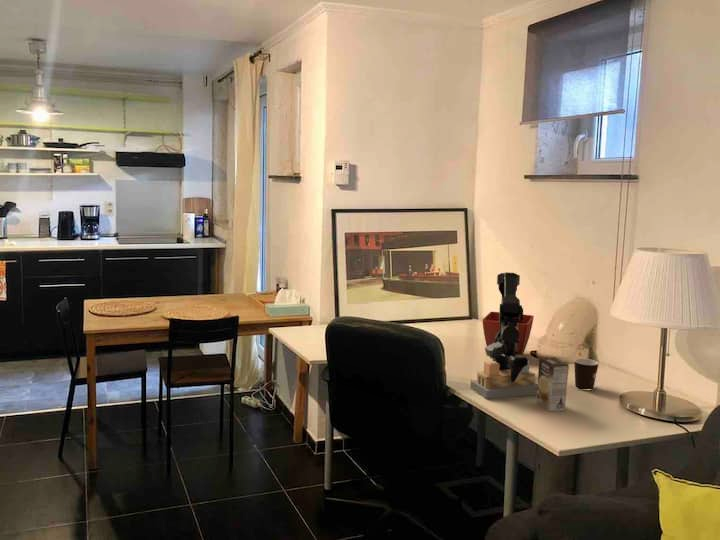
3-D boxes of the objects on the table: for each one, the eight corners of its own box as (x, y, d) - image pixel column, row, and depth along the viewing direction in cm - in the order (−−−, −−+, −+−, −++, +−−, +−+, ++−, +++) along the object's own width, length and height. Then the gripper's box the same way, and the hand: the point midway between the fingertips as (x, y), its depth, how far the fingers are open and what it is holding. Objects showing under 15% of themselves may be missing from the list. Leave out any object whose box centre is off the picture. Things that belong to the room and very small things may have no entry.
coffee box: (535, 402, 237) (538, 357, 235) (551, 401, 239) (554, 356, 236) (549, 411, 228) (552, 365, 226) (566, 410, 230) (569, 364, 228)
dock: (522, 384, 257) (523, 376, 257) (540, 394, 246) (541, 386, 246) (470, 388, 250) (470, 380, 250) (486, 399, 239) (486, 390, 239)
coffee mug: (584, 392, 249) (586, 366, 248) (567, 385, 257) (569, 359, 255) (607, 388, 255) (609, 362, 253) (589, 382, 262) (592, 356, 261)
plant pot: (479, 357, 292) (481, 319, 290) (488, 347, 310) (490, 310, 307) (524, 363, 285) (527, 324, 283) (531, 352, 303) (534, 315, 300)
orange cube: (493, 371, 248) (494, 361, 247) (498, 375, 244) (499, 364, 243) (483, 372, 247) (484, 361, 246) (489, 375, 243) (489, 364, 242)
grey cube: (523, 369, 252) (523, 359, 251) (528, 372, 248) (529, 362, 247) (513, 370, 250) (514, 359, 250) (519, 373, 247) (519, 362, 246)
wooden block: (525, 378, 254) (525, 368, 253) (534, 384, 248) (535, 373, 247) (476, 382, 248) (477, 371, 247) (485, 388, 242) (486, 377, 241)
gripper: (476, 330, 251) (474, 372, 254) (502, 343, 234) (499, 387, 236) (503, 329, 255) (500, 370, 257) (530, 342, 237) (527, 385, 240)
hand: (506, 378), depth 247 cm, fingers open, 9 cm apart
